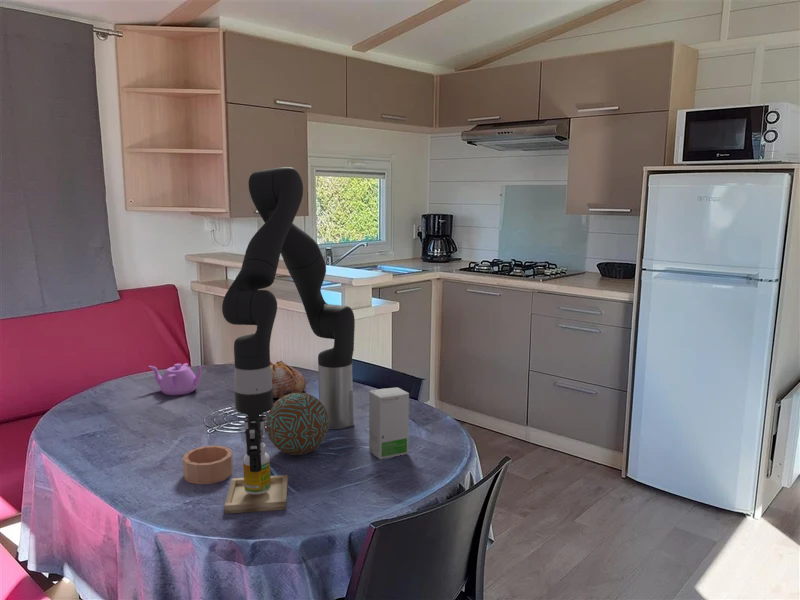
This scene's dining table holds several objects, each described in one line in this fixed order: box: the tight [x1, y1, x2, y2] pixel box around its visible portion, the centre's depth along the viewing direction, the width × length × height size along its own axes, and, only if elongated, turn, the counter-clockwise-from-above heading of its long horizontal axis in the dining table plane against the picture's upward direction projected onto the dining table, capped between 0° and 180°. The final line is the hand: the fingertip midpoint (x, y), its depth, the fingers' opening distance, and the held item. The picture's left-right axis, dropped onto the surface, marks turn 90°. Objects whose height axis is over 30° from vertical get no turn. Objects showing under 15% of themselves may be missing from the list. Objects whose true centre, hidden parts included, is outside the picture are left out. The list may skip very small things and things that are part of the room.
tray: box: [224, 474, 289, 515], centre depth 131 cm, size 12×12×2 cm
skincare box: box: [368, 387, 410, 460], centre depth 153 cm, size 8×7×16 cm
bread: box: [270, 360, 307, 399], centre depth 200 cm, size 16×20×10 cm
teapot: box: [148, 362, 205, 396], centre depth 200 cm, size 12×14×9 cm
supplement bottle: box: [242, 441, 271, 495], centre depth 130 cm, size 5×5×10 cm
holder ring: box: [182, 444, 234, 485], centre depth 142 cm, size 10×10×4 cm
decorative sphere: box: [265, 392, 329, 456], centre depth 153 cm, size 15×15×15 cm
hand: (256, 464), depth 130 cm, fingers closed on supplement bottle, 5 cm apart
